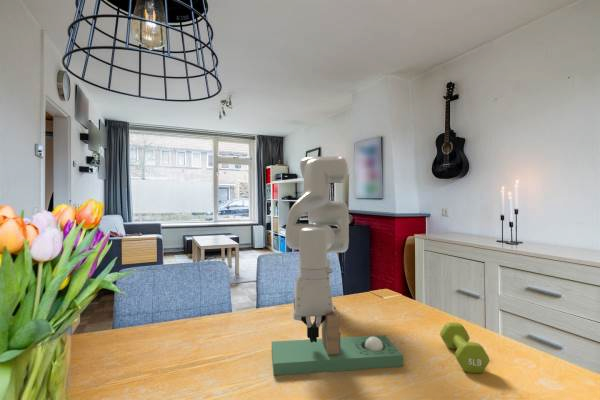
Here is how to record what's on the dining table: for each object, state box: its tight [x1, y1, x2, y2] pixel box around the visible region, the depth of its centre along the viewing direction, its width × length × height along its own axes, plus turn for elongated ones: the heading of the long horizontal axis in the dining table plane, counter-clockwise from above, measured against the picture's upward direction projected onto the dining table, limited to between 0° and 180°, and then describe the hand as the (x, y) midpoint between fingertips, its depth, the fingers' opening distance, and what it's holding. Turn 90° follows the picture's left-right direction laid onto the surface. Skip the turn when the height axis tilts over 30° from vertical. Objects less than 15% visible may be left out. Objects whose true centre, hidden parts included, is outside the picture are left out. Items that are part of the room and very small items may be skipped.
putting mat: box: [271, 334, 404, 376], centre depth 88 cm, size 12×34×3 cm, turn 97°
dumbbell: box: [439, 322, 490, 374], centre depth 88 cm, size 16×8×7 cm, turn 172°
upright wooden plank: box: [321, 306, 341, 355], centre depth 87 cm, size 8×4×10 cm, turn 7°
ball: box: [365, 337, 383, 351], centre depth 89 cm, size 5×5×5 cm
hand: (312, 339), depth 87 cm, fingers closed
